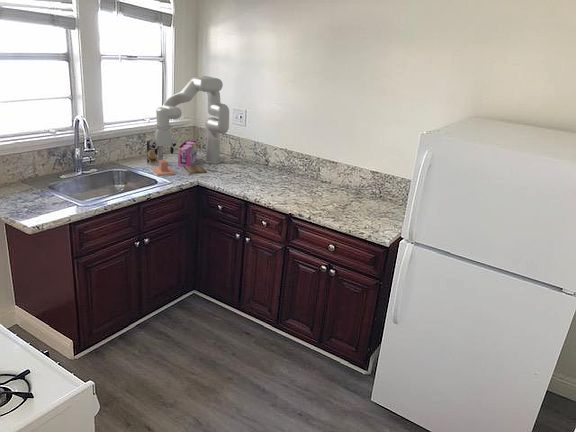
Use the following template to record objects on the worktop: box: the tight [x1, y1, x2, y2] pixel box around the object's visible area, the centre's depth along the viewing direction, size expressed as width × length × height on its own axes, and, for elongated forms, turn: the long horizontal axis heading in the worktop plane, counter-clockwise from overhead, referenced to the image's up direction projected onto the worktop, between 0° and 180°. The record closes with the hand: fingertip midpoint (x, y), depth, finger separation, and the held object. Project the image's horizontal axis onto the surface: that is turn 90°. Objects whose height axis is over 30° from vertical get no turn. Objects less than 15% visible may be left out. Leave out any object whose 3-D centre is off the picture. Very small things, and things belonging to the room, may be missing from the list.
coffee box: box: [146, 139, 164, 167], centre depth 314 cm, size 9×6×16 cm
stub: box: [151, 159, 176, 177], centre depth 301 cm, size 11×14×7 cm
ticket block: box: [183, 164, 207, 175], centre depth 312 cm, size 11×14×2 cm
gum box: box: [177, 139, 198, 168], centre depth 324 cm, size 24×8×14 cm, turn 178°
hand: (164, 154), depth 298 cm, fingers open, 9 cm apart
